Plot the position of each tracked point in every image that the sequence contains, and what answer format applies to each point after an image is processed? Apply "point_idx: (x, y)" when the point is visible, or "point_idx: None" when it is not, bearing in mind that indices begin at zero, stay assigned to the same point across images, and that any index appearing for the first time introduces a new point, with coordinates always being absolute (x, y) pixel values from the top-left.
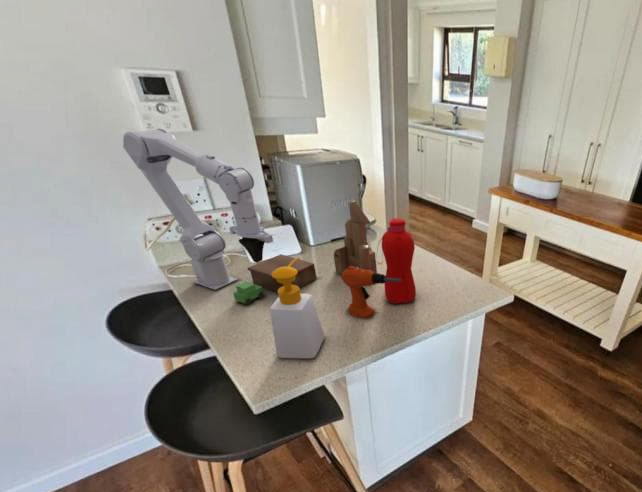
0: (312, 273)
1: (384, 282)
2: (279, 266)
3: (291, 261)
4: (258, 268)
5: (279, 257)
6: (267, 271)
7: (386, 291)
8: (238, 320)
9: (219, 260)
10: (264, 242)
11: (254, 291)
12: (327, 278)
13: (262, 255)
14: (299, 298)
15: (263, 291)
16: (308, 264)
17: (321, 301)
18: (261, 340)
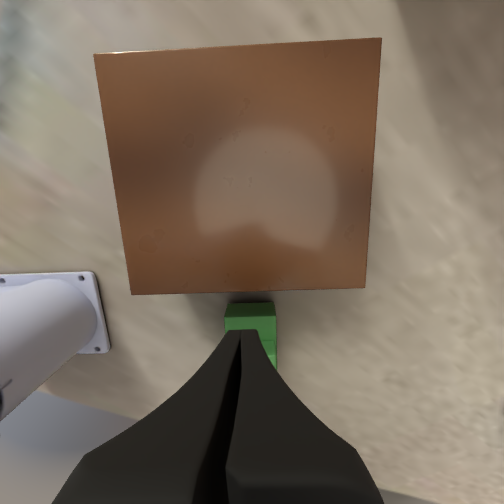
0: None
1: None
2: (243, 196)
3: (242, 103)
4: (180, 273)
5: (134, 100)
6: (244, 271)
7: None
8: (318, 411)
9: (7, 374)
10: (329, 433)
11: (276, 347)
12: (382, 52)
13: (260, 343)
14: None
15: (274, 307)
16: (361, 72)
17: (475, 224)
18: (439, 436)
